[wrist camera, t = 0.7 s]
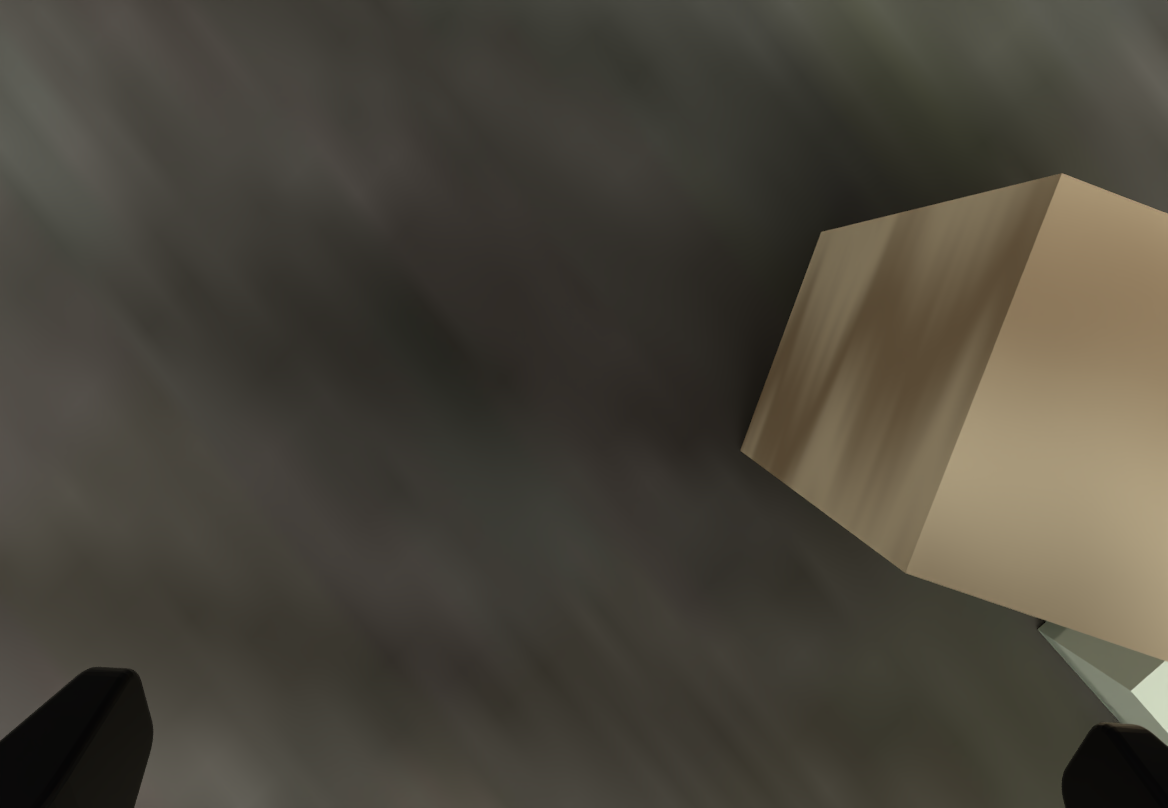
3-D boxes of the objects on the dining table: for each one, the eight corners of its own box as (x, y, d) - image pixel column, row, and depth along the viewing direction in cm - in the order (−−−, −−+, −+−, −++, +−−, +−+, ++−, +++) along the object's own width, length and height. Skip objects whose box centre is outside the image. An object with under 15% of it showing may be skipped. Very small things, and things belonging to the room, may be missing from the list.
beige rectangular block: (948, 522, 25) (1271, 696, 14) (740, 450, 24) (905, 572, 13) (1032, 309, 24) (1436, 317, 13) (821, 232, 24) (1062, 173, 13)
